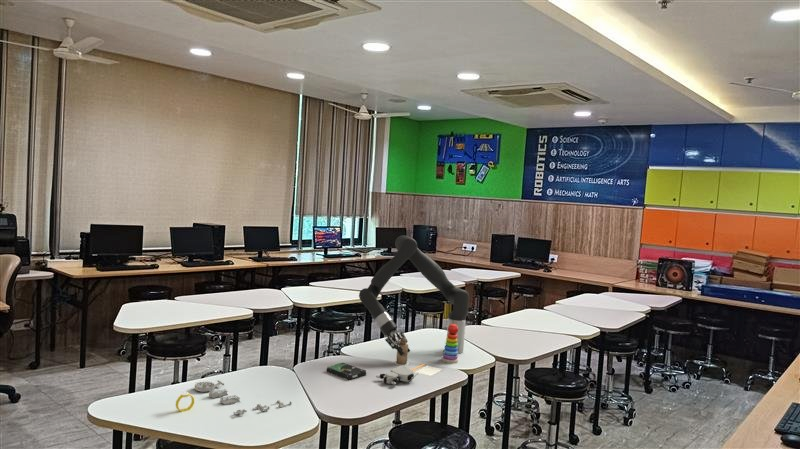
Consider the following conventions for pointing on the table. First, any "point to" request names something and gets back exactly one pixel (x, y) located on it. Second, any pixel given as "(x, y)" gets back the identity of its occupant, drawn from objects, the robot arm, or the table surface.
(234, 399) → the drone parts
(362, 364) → the table surface
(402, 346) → the walnut skittle
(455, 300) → the robot arm
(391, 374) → the robot toy
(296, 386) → the table surface
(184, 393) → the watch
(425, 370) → the lane mat
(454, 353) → the stacking toy
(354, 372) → the disk drive
